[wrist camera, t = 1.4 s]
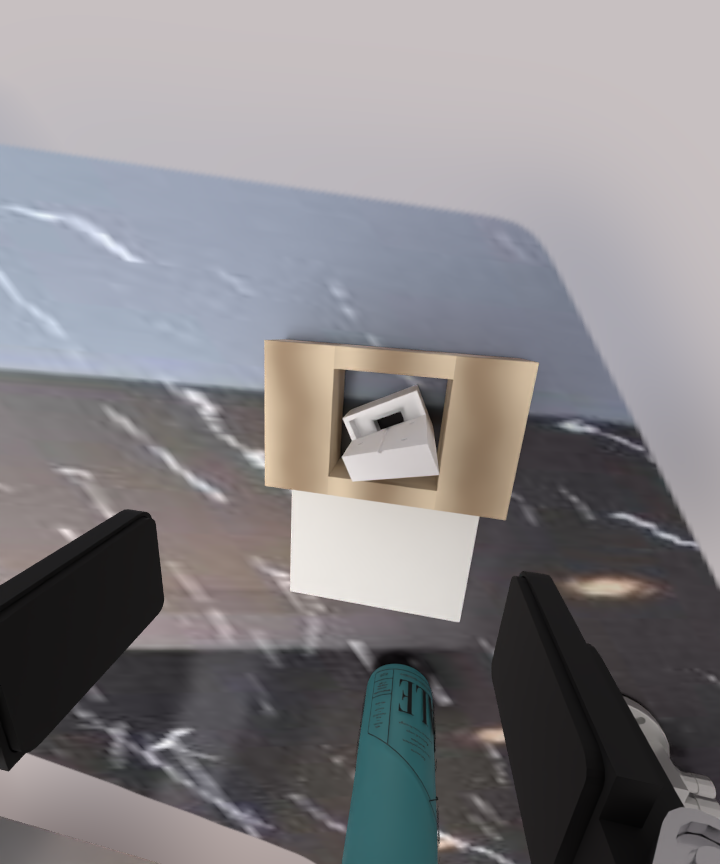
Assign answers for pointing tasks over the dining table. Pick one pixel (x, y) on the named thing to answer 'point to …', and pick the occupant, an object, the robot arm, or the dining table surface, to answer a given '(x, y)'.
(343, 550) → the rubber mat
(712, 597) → the dining table surface
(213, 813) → the dining table surface
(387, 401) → the white angled block
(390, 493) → the block
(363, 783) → the beverage bottle
